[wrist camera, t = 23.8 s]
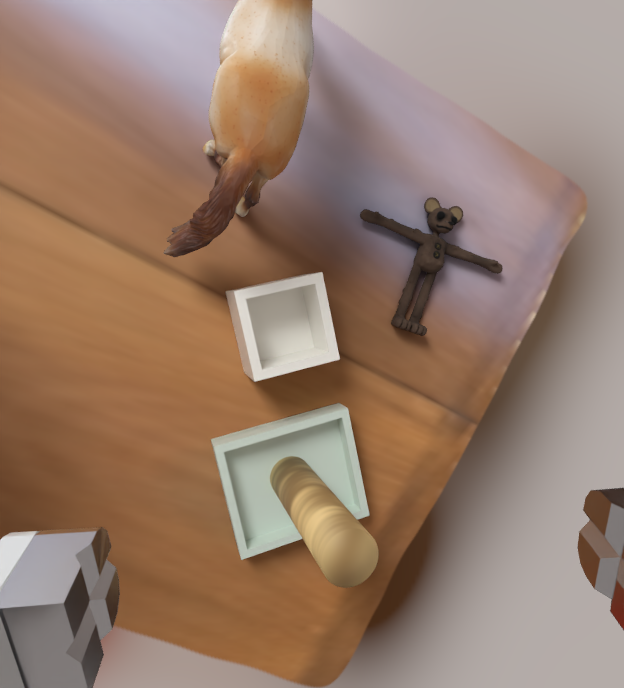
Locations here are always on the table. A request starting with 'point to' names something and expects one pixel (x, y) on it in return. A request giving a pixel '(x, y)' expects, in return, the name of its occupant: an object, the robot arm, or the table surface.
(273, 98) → the horse figurine
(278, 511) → the tray
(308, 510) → the dowel
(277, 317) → the white square box
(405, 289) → the bear figurine
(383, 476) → the table surface
